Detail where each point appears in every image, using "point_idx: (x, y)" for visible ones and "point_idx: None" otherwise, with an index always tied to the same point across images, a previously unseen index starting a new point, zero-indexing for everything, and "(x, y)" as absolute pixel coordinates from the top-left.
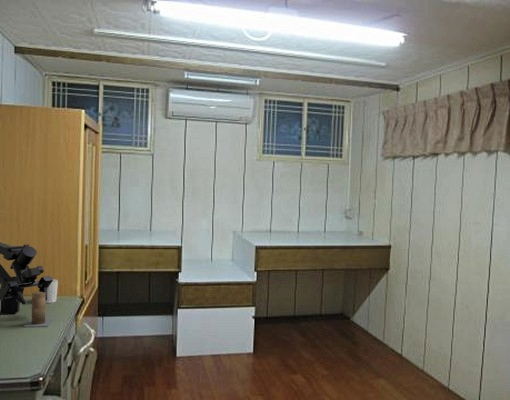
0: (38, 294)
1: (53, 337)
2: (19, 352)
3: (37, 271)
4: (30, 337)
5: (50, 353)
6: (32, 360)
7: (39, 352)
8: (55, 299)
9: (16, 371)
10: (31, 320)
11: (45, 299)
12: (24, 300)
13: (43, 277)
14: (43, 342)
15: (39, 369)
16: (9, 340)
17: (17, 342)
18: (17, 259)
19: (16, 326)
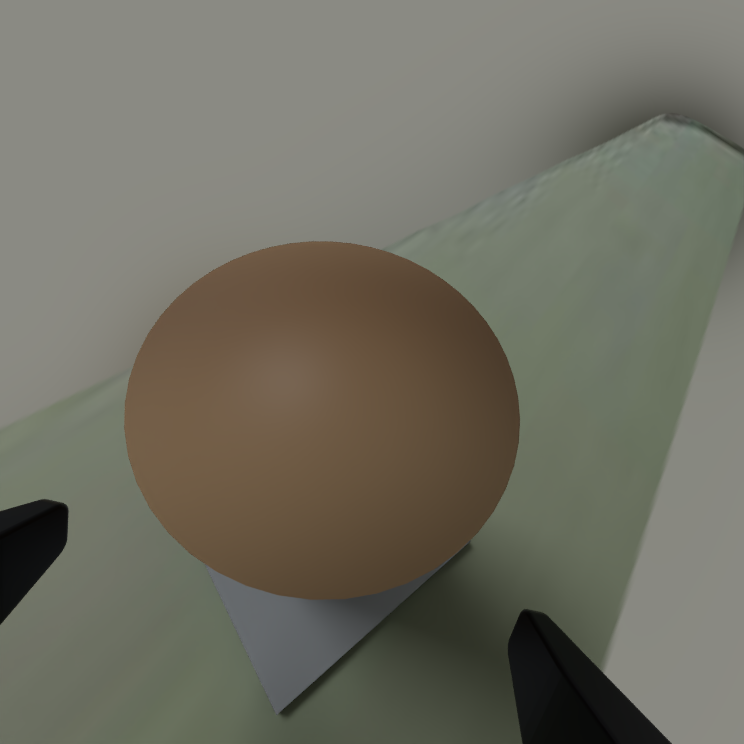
0: (432, 301)
1: (465, 238)
2: (666, 240)
3: None
4: (547, 326)
5: (578, 159)
6: (652, 170)
7: (604, 189)
8: None
9: (718, 162)
10: (299, 649)
11: (48, 545)
12: (565, 660)
13: None
14: (538, 235)
15: (659, 129)
16: (658, 384)
17: (633, 326)
18: None
19: (492, 629)
